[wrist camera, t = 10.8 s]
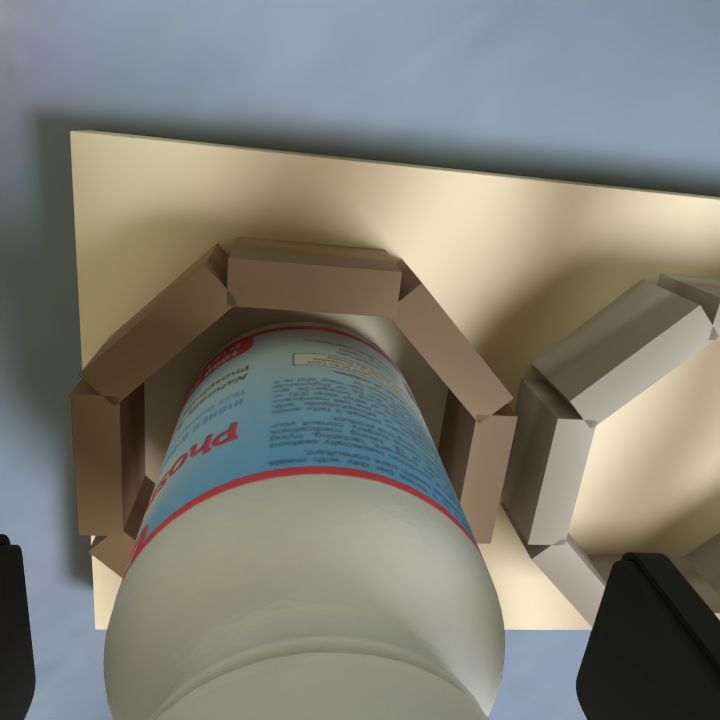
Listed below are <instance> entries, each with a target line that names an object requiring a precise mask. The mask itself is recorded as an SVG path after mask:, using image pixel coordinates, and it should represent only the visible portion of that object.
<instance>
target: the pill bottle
mask: <svg viewBox="0 0 720 720" xmlns="http://www.w3.org/2000/svg"><path fill="white" fill-rule="evenodd" d="M504 654H505V629H504V621H503V616H502V610H501V606H500V602H499V598H498V594H497V592H496V589H495V586H494V584H493V581H492V578H491V576H490V573H489V571H488V568H487V566H486V563H485V561H484V559H483V556H482V554H481V552H480V549H479V547H478V545H477V542H476V540H475V538H474V535H473V533H472V531H471V528H470V526H469V524H468V521H467V519H466V517H465V514H464V512H463V509H462V507H461V505H460V502H459V500H458V498H457V495H456V493H455V491H454V488H453V486H452V484H451V482H450V479H449V477H448V475H447V473H446V470H445V468H444V466H443V463H442V461H441V459H440V456H439V454H438V452H437V449H436V447H435V445H434V443H433V440H432V438H431V435H430V433H429V431H428V428H427V426H426V424H425V422H424V419H423V417H422V415H421V412H420V410H419V408H418V406H417V404H416V401H415V399H414V396H413V394H412V392H411V390H410V388H409V386H408V384H407V381H406V380H405V378H404V376H403V374H402V373H401V371H400V370H399V368H398V367H397V366H396V364H395V363H394V362H393V361H392V359H391V358H390V357H389V356H388V355H387V354H386V353H385V352H384V351H383V350H382V349H380V348H379V347H378V346H377V345H376V344H374V343H373V342H371V341H370V340H368V339H367V338H365V337H363V336H361V335H359V334H357V333H355V332H353V331H350V330H347V329H345V328H342V327H338V326H334V325H329V324H322V323H314V322H285V323H277V324H271V325H267V326H263V327H259V328H256V329H253V330H251V331H248V332H246V333H244V334H242V335H240V336H238V337H236V338H234V339H233V340H231V341H229V342H228V343H227V344H225V345H224V346H223V347H221V348H220V349H219V350H218V351H217V352H216V353H215V354H213V355H212V357H211V358H210V359H209V360H208V361H207V362H206V363H205V364H204V366H203V367H202V368H201V369H200V371H199V373H198V374H197V376H196V378H195V379H194V381H193V383H192V385H191V387H190V389H189V392H188V394H187V396H186V399H185V401H184V404H183V407H182V410H181V413H180V416H179V418H178V421H177V425H176V427H175V430H174V433H173V436H172V439H171V442H170V444H169V447H168V450H167V453H166V456H165V459H164V461H163V464H162V467H161V470H160V473H159V476H158V479H157V482H156V485H155V487H154V490H153V493H152V496H151V499H150V501H149V504H148V506H147V509H146V511H145V515H144V518H143V521H142V524H141V527H140V529H139V532H138V535H137V538H136V541H135V544H134V547H133V550H132V553H131V556H130V558H129V561H128V564H127V566H126V569H125V572H124V576H123V579H122V582H121V584H120V587H119V590H118V593H117V595H116V598H115V602H114V607H113V610H112V614H111V617H110V620H109V624H108V627H107V633H106V639H105V648H104V679H105V687H106V693H107V699H108V703H109V707H110V710H111V714H112V716H113V719H114V720H489V719H488V718H487V717H488V715H489V713H490V711H491V709H492V706H493V704H494V702H495V699H496V696H497V692H498V689H499V685H500V682H501V678H502V672H503V665H504Z"/></svg>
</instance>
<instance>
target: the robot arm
mask: <svg viewBox="0 0 720 720" xmlns="http://www.w3.org/2000/svg"><path fill="white" fill-rule="evenodd" d="M35 682H36V680H35V668H34V659H33V650H32V640H31V631H30V622H29V613H28V603H27V594H26V585H25V576H24V566H23V557H22V551H21V548H20V546H19V545H10V541H9V538H8V537H7V535H4V534H0V720H24V719H25V716H26V714H27V712H28V710H29V707H30V705H31V702H32V699H33V695H34V690H35ZM576 691H577V697H578V700H579V703H580V705H581V708H582V710H583V712H584V714H585V716H586V718H587V720H720V620H719V619H718V617H717V616H716V615H715V614H714V613H713V611H712V610H711V609H710V608H709V607H708V605H707V604H706V603H705V602H704V600H703V599H702V598H701V597H700V596H699V594H698V593H697V592H696V591H695V590H694V588H693V587H692V586H691V585H690V583H689V582H688V581H687V580H686V579H685V577H684V576H683V575H682V574H681V573H680V571H679V570H678V569H677V568H676V567H675V565H674V564H673V563H672V562H671V560H670V559H669V558H668V557H667V556H665V555H664V554H661V553H647V552H628V553H625V554H624V555H623V556H622V558H621V560H620V561H616V562H615V563H614V564H613V566H612V568H611V571H610V574H609V577H608V580H607V583H606V587H605V590H604V593H603V596H602V599H601V603H600V606H599V609H598V612H597V615H596V618H595V622H594V625H593V628H592V631H591V634H590V638H589V641H588V644H587V647H586V650H585V654H584V657H583V660H582V663H581V666H580V669H579V673H578V676H577V680H576Z"/></svg>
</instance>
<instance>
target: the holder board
mask: <svg viewBox="0 0 720 720" xmlns="http://www.w3.org/2000/svg"><path fill="white" fill-rule="evenodd" d="M70 140H71V160H72V179H73V199H74V218H75V238H76V257H77V277H78V296H79V316H80V335H81V355H82V371H81V372H80V374H79V375H80V376H81V377H82V378H83V379H82V380H81V381H80V383H79V384H78V385H77V386H76V388H75V389H74V390H73V391H72V393H71V394H70V397H71V414H72V431H73V448H74V464H75V481H76V498H77V515H78V532H79V535H85V536H91V547H90V549H89V551H88V552H89V553H90V554H92V569H93V588H94V608H95V627H96V629H107V627H108V624H109V620H110V617H111V614H112V610H113V607H114V602H115V598H116V595H117V593H118V590H119V587H120V584H121V582H122V579H123V576H124V572H125V569H126V566H127V564H128V561H129V558H130V556H131V553H132V550H133V547H134V544H135V541H136V538H137V535H138V532H139V529H140V527H141V524H142V521H143V518H144V515H145V511H146V509H147V506H148V504H149V501H150V499H151V496H152V493H153V490H154V487H155V485H156V482H157V479H158V476H159V473H160V470H161V467H162V464H163V461H164V459H165V456H166V453H167V450H168V447H169V444H170V442H171V439H172V436H173V433H174V430H175V427H176V425H177V421H178V418H179V416H180V413H181V410H182V407H183V404H184V401H185V399H186V396H187V394H188V392H189V389H190V387H191V385H192V383H193V381H194V379H195V378H196V376H197V374H198V373H199V371H200V369H201V368H202V367H203V366H204V364H205V363H206V362H207V361H208V360H209V359H210V358H211V357H212V355H213V354H215V353H216V352H217V351H218V350H219V349H220V348H221V347H223V346H224V345H225V344H227V343H228V342H229V341H231V340H233V339H234V338H236V337H238V336H240V335H242V334H244V333H246V332H248V331H251V330H253V329H256V328H259V327H263V326H267V325H271V324H277V323H285V322H314V323H322V324H329V325H334V326H338V327H342V328H345V329H347V330H350V331H353V332H355V333H357V334H359V335H361V336H363V337H365V338H367V339H368V340H370V341H371V342H373V343H374V344H376V345H377V346H378V347H379V348H380V349H382V350H383V351H384V352H385V353H386V354H387V355H388V356H389V357H390V358H391V359H392V361H393V362H394V363H395V364H396V366H397V367H398V368H399V370H400V371H401V373H402V374H403V376H404V378H405V380H406V381H407V384H408V386H409V388H410V390H411V392H412V394H413V396H414V399H415V401H416V404H417V406H418V408H419V410H420V412H421V415H422V417H423V419H424V422H425V424H426V426H427V428H428V431H429V433H430V435H431V438H432V440H433V443H434V445H435V447H436V449H437V452H438V454H439V456H440V459H441V461H442V463H443V466H444V468H445V470H446V473H447V475H448V477H449V479H450V482H451V484H452V486H453V488H454V491H455V493H456V495H457V498H458V500H459V502H460V505H461V507H462V509H463V512H464V514H465V517H466V519H467V521H468V524H469V526H470V528H471V531H472V533H473V535H474V538H475V540H476V542H477V545H478V547H479V549H480V552H481V554H482V556H483V559H484V561H485V563H486V566H487V568H488V571H489V573H490V576H491V578H492V581H493V584H494V586H495V589H496V592H497V594H498V598H499V602H500V606H501V610H502V616H503V621H504V629H505V630H592V628H593V625H594V622H595V618H596V615H597V612H598V609H599V606H600V603H601V599H602V596H603V593H604V590H605V587H606V583H607V580H608V577H609V574H610V571H611V568H612V566H613V564H614V563H615V562H616V561H620V560H621V558H622V556H623V555H624V554H625V553H628V552H647V553H661V554H664V555H665V556H667V557H668V558H669V559H670V560H671V562H672V563H673V564H674V565H675V567H676V568H677V569H678V570H679V571H680V573H681V574H682V575H683V576H684V577H685V579H686V580H687V581H688V582H689V583H690V585H691V586H692V587H693V588H694V590H695V591H696V592H697V593H698V594H699V596H700V597H701V598H702V599H703V600H704V602H705V603H706V604H707V605H708V607H709V608H710V609H711V610H712V611H713V613H714V614H715V615H716V616H717V617H718V619H719V620H720V197H714V196H705V195H695V194H686V193H677V192H667V191H658V190H648V189H639V188H630V187H620V186H611V185H601V184H592V183H582V182H573V181H564V180H554V179H545V178H535V177H526V176H517V175H507V174H498V173H488V172H479V171H470V170H460V169H451V168H441V167H432V166H423V165H413V164H404V163H394V162H385V161H375V160H366V159H357V158H347V157H338V156H328V155H319V154H310V153H300V152H291V151H281V150H272V149H263V148H253V147H244V146H234V145H225V144H216V143H206V142H197V141H187V140H178V139H168V138H159V137H150V136H140V135H131V134H121V133H112V132H103V131H93V130H83V131H70Z"/></svg>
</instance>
